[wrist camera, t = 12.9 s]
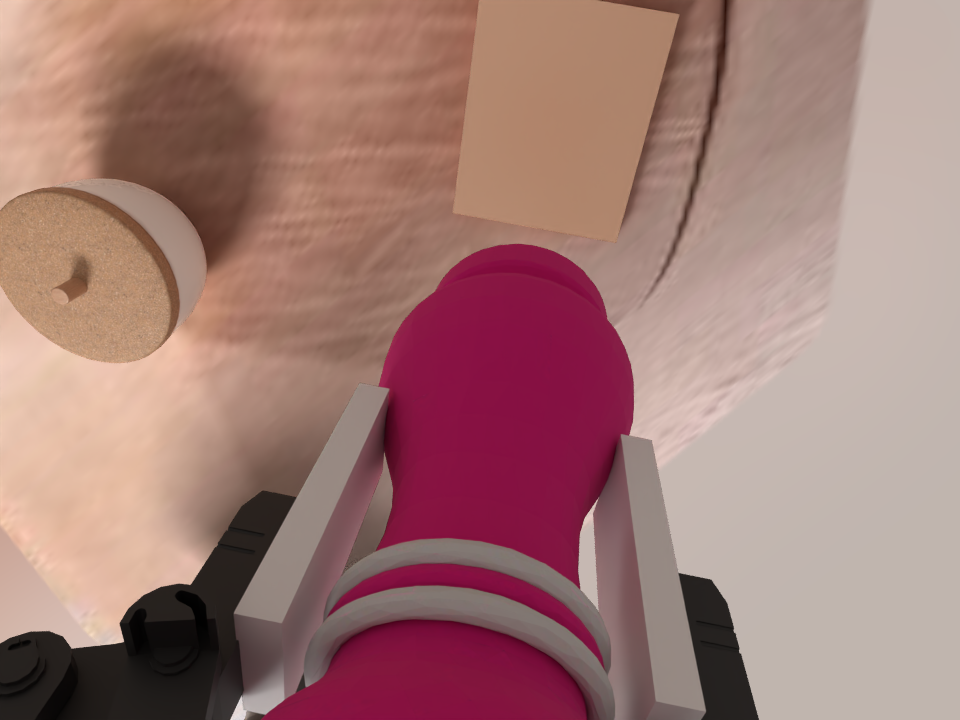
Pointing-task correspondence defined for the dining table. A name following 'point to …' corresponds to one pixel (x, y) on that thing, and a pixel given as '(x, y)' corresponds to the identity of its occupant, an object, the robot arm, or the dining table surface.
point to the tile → (559, 112)
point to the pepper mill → (483, 508)
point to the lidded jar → (101, 266)
